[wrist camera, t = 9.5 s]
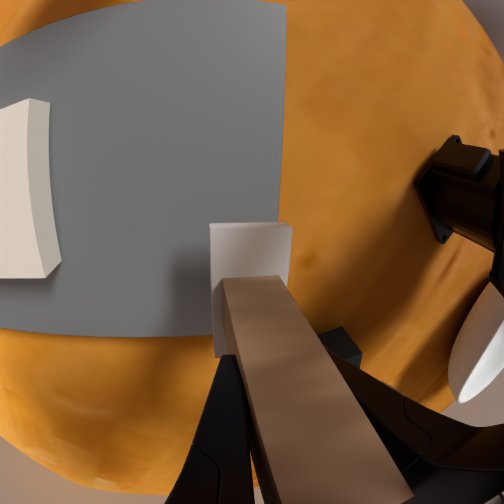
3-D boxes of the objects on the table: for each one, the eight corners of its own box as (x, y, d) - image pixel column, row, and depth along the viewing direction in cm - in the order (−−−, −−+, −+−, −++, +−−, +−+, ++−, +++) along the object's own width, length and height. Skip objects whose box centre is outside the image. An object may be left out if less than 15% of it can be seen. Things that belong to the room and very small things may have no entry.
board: (277, 16, 10) (286, 5, 9) (263, 315, 17) (269, 329, 16) (-39, 81, 6) (-51, 80, 4) (-13, 314, 12) (-22, 324, 11)
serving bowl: (451, 268, 20) (503, 304, 14) (525, 225, 22) (558, 242, 16) (413, 396, 28) (437, 428, 22) (493, 335, 31) (516, 356, 24)
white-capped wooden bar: (285, 222, 11) (492, 431, 2) (274, 341, 13) (356, 526, 4) (209, 223, 10) (289, 544, 1) (213, 346, 12) (256, 554, 3)
